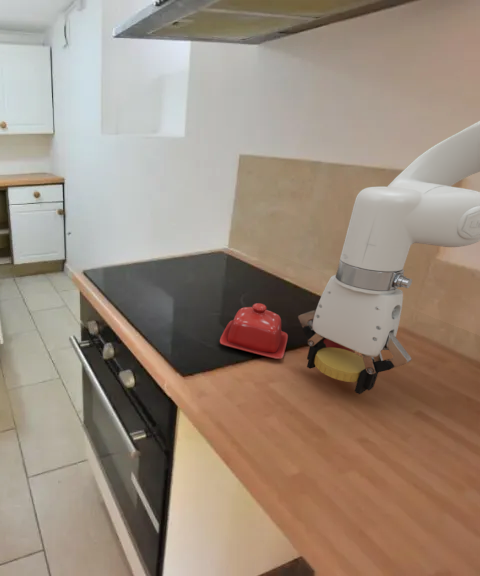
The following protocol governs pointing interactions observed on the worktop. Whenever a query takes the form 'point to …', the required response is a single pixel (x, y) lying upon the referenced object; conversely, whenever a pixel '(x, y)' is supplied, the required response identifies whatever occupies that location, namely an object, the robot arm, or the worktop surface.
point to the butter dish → (256, 332)
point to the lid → (339, 364)
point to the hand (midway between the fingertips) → (336, 376)
